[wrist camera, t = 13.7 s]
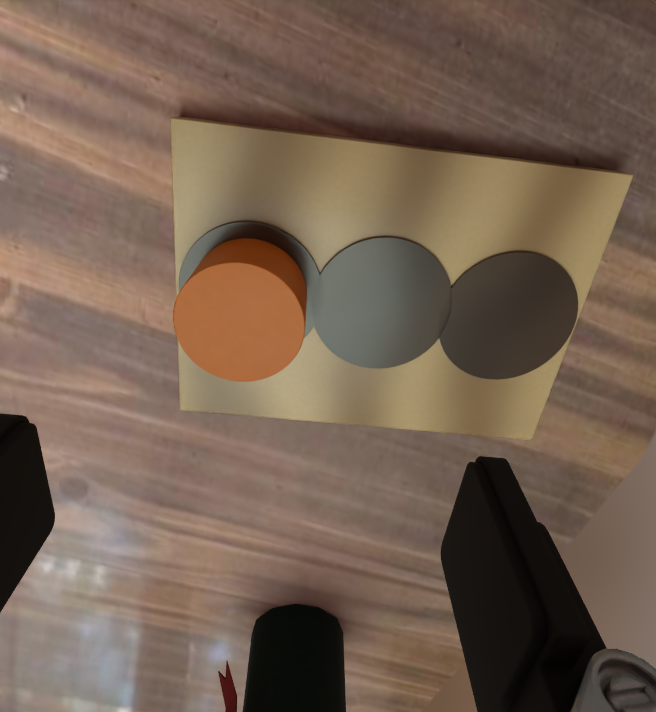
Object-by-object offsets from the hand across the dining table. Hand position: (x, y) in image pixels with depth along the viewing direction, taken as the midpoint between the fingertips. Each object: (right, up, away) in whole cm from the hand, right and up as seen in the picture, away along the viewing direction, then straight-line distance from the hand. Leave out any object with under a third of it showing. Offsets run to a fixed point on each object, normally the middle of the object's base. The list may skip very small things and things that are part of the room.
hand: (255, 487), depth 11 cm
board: (+5, +6, +17) cm, 19 cm away
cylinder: (-2, +6, +15) cm, 16 cm away
